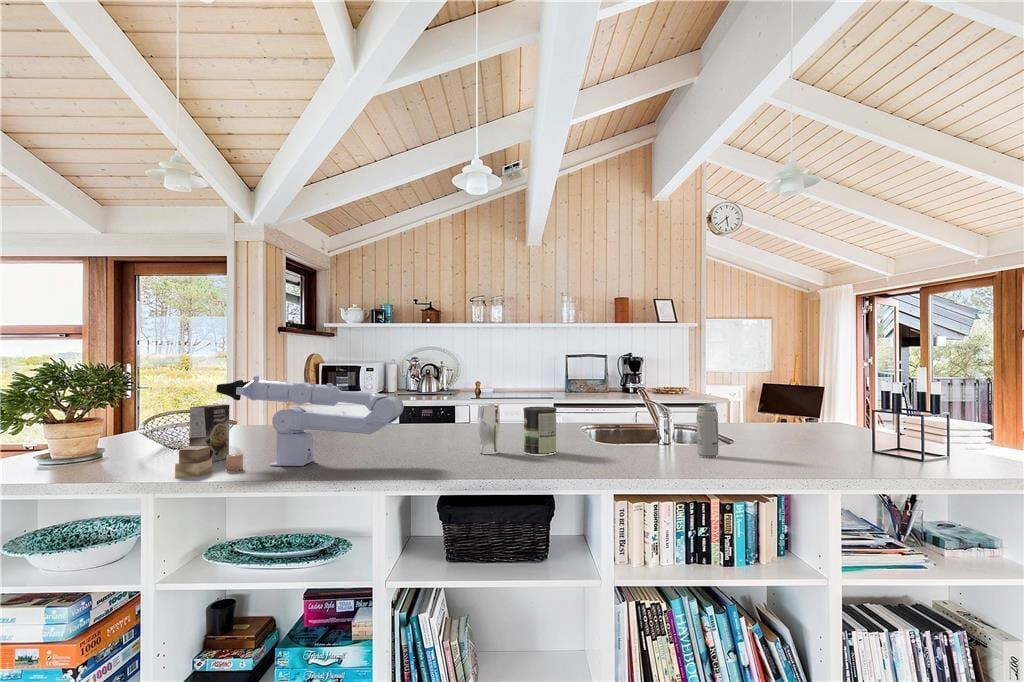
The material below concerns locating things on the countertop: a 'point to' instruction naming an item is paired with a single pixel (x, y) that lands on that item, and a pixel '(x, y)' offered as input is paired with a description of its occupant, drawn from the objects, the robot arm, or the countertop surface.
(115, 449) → the countertop surface
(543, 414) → the coffee can
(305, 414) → the robot arm
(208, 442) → the coffee box
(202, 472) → the oak slab
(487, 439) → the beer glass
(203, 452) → the walnut slab
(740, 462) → the countertop surface
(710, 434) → the energy drink can
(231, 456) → the light brown wooden cube
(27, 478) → the countertop surface
